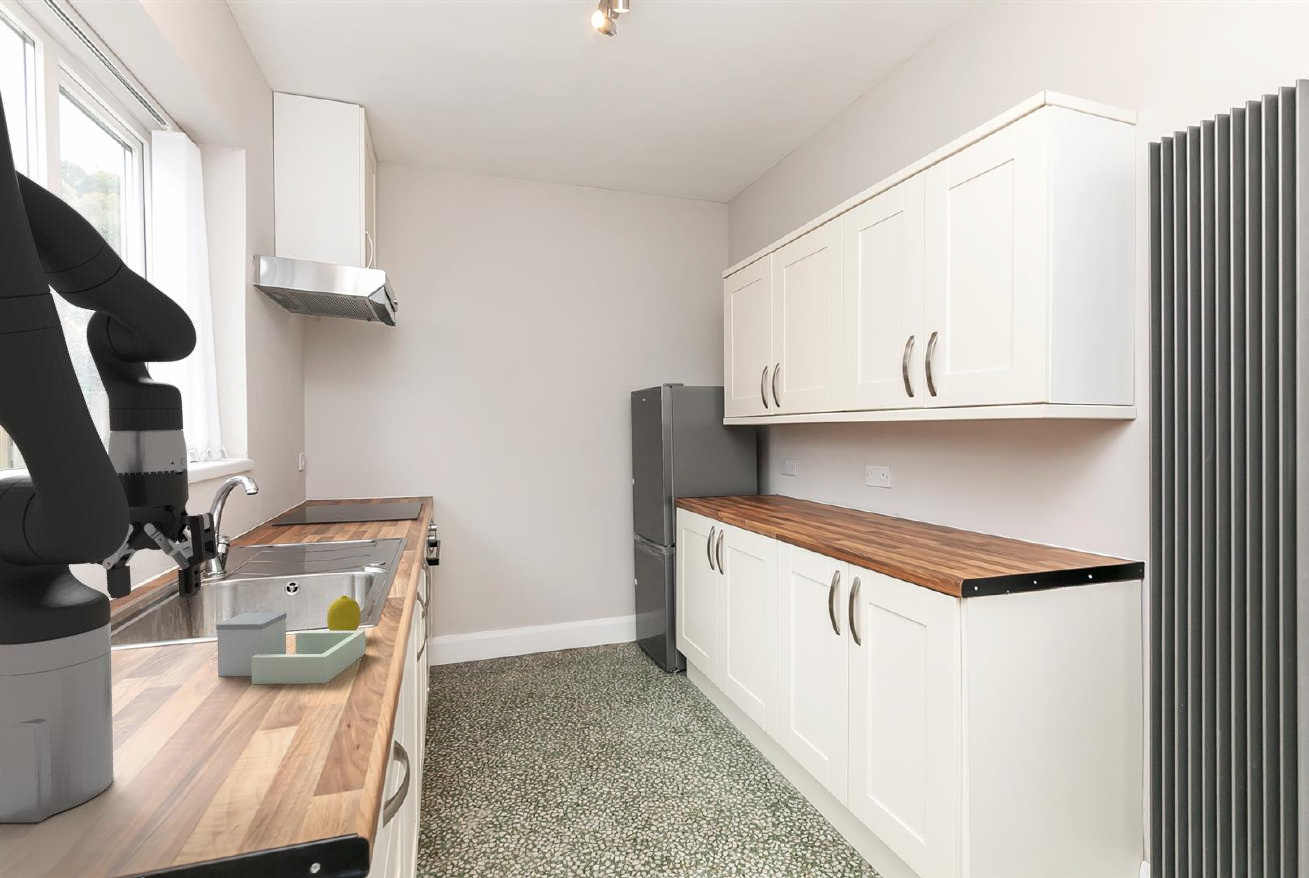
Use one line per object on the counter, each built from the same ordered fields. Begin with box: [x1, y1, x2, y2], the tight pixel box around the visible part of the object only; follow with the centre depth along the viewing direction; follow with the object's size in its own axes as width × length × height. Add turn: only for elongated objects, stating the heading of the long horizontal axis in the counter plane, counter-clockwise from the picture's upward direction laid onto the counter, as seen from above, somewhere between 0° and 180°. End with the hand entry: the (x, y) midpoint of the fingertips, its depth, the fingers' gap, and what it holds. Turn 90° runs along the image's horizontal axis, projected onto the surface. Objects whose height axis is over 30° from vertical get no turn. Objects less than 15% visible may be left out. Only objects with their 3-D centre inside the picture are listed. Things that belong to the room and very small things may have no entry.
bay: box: [251, 630, 366, 685], centre depth 99 cm, size 12×11×4 cm
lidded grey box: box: [215, 612, 287, 677], centre depth 99 cm, size 6×7×8 cm
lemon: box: [326, 595, 362, 631], centre depth 113 cm, size 6×6×8 cm
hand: (155, 596), depth 77 cm, fingers open, 8 cm apart
